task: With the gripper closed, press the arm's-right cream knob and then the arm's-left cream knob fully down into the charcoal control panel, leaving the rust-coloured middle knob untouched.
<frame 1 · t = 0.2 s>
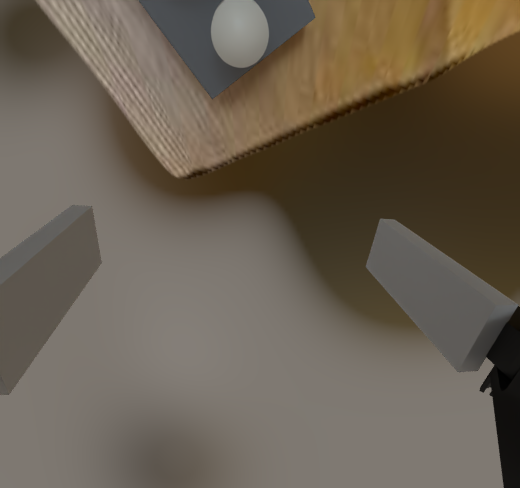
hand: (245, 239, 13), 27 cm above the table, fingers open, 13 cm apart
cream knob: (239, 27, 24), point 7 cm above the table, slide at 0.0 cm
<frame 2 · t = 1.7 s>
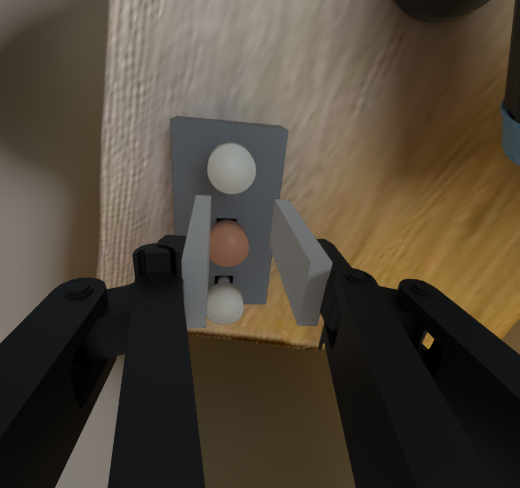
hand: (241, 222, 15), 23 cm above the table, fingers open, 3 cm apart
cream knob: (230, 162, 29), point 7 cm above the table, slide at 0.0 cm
knob panel: (225, 212, 39), on the table
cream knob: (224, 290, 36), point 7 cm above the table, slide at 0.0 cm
rust knob middle: (226, 233, 33), point 7 cm above the table, slide at 0.0 cm
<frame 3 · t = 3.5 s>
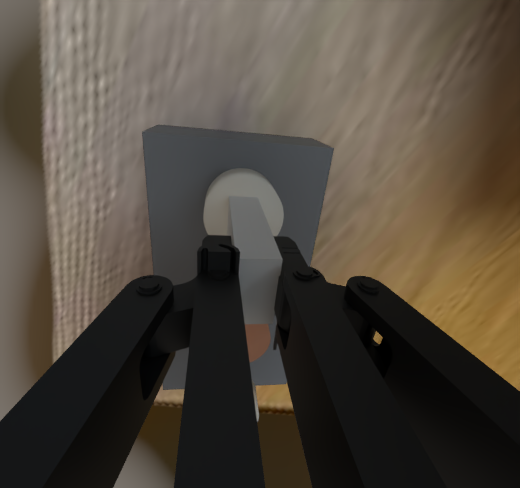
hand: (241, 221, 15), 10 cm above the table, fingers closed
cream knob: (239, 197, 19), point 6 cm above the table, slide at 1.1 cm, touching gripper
knob panel: (230, 259, 27), on the table
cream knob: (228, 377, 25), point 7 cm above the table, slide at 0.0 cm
rust knob middle: (233, 304, 22), point 7 cm above the table, slide at 0.0 cm
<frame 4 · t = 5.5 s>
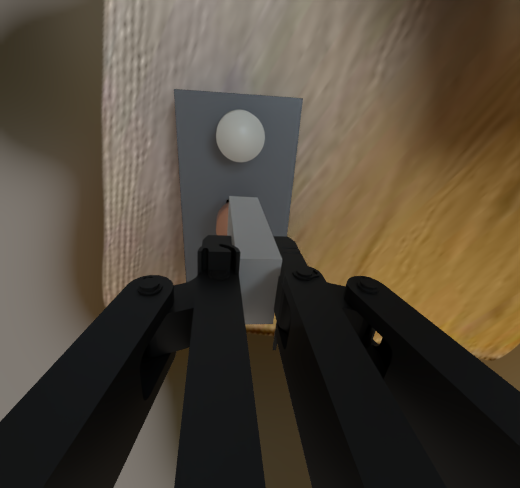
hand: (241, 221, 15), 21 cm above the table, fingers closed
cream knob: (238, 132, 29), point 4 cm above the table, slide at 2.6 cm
knob panel: (235, 196, 36), on the table
rust knob middle: (237, 215, 30), point 7 cm above the table, slide at 0.0 cm
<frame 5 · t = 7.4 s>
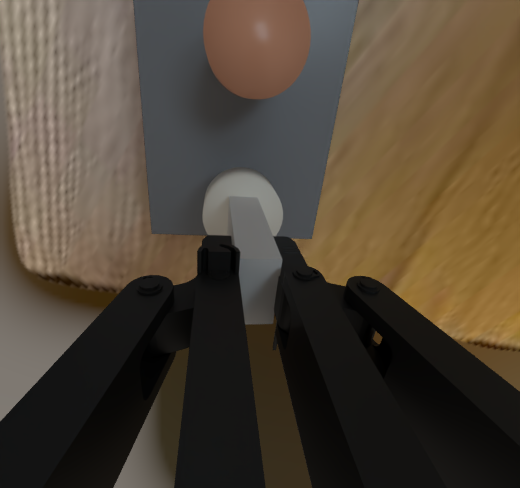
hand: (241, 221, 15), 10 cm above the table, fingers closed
knob panel: (240, 64, 21), on the table
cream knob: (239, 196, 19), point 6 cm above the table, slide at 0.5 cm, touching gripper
rust knob middle: (249, 51, 15), point 7 cm above the table, slide at 0.0 cm
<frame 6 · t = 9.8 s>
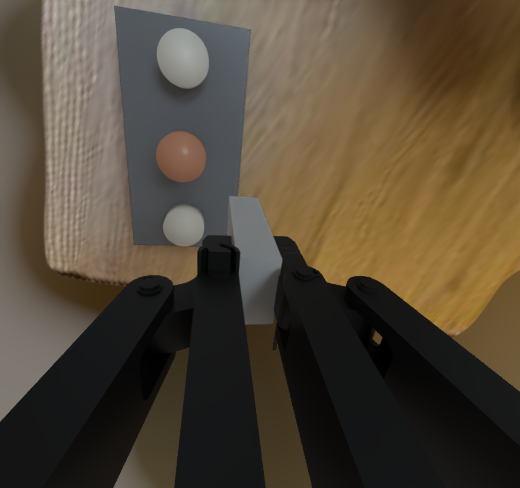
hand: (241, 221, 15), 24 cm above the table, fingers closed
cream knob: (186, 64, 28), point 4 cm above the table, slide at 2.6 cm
knob panel: (188, 144, 35), on the table
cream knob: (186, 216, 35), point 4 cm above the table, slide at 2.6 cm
rust knob middle: (184, 152, 29), point 7 cm above the table, slide at 0.0 cm
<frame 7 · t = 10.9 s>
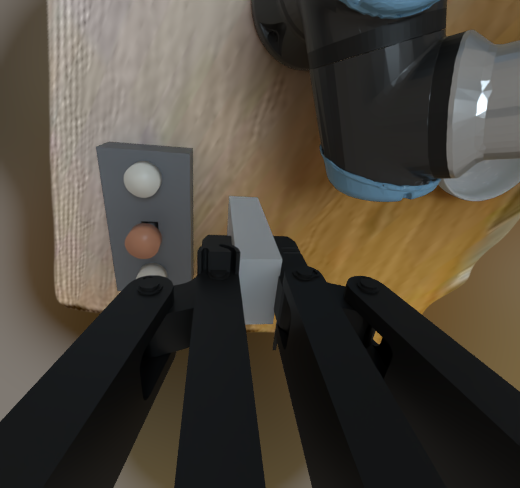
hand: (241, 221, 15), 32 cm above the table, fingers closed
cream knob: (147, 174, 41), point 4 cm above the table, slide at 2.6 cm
knob panel: (156, 216, 48), on the table
cereal bowl: (460, 142, 49), on the table
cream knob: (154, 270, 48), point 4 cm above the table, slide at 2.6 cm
rust knob middle: (147, 233, 42), point 7 cm above the table, slide at 0.0 cm
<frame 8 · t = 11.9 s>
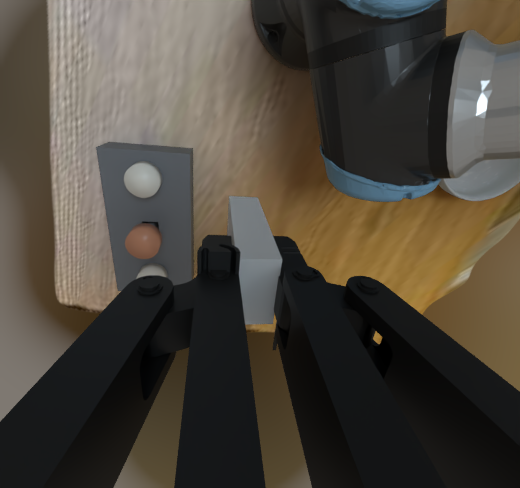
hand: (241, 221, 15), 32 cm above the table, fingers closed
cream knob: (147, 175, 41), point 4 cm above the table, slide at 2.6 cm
knob panel: (156, 216, 48), on the table
cereal bowl: (460, 141, 49), on the table
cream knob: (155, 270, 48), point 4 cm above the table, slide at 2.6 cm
rust knob middle: (148, 233, 42), point 7 cm above the table, slide at 0.0 cm
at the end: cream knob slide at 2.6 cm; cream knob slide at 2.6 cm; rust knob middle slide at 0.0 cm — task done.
